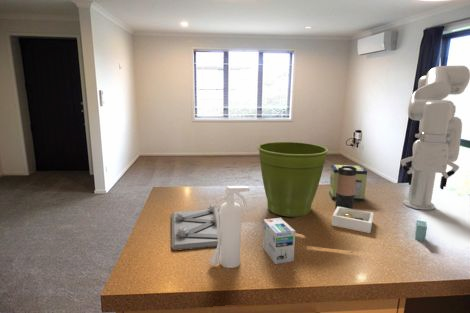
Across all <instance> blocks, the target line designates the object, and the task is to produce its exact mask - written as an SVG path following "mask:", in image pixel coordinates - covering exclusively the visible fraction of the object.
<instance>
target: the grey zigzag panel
mask: <svg viewBox="0 0 470 313" xmlns="http://www.w3.org/2000/svg"><path fill="white" fill-rule="evenodd" d="M214 208H215V203H212V204H210V205H208V207H207V209H200V210H199V209H198V210H196V209H195V210H184V211H181V210H180V211H173V212H172V213H171V249H172V250H173V249H174V251H180V250H179V249H184V250H189V249H190V248H194V249H203V248H202V247H205V248H215V247H217V245H218V238H217V223H216V216H215V212H214ZM217 211H218V215H219V222H220V208H219V205H218V209H217ZM214 246H215V247H214ZM190 250H191V249H190Z"/></svg>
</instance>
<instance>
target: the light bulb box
mask: <svg viewBox="0 0 470 313" xmlns="http://www.w3.org/2000/svg"><path fill="white" fill-rule="evenodd" d="M262 242H263V245H262V248H263V249H264V251H265V252H266V254H267V255H268V257H269V258H270V259H271V261H272V262H273V263H274V264H275V265H279V264H285V263H286V264H287V263H292V262H294V261H295V243H296V230H295V229H294V228H293V227H292V226H291V225H289V224H288V223H287V222H286V221H285V220H284V219H283V218H282V217H277V218H276V217H274V218H264V219H263V241H262Z"/></svg>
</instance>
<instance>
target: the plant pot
mask: <svg viewBox="0 0 470 313" xmlns="http://www.w3.org/2000/svg"><path fill="white" fill-rule="evenodd" d="M257 149H258V151H259V152H258V154H259V155H258V156H259V163H260V169H261V178H262V183H263V188H264V192H265V197H266V201H267V203H266V204H267V209H268V210H269V212H271V213H273V214H274V215H278V216H282V217H290V218H296V217H301V216H307V215H308V214H309V213H311V211H312V210H311V209H312V204H313V202H314V199H315V197H316V193H317V190H318V188H319V184H320V181H321V178H322V173H323V169H324V165H325V163H326V158H327V153H328V152H329V149H328V148H327V147H325V146H322V145H319V144H314V143H307V142H300V141H299V142H297V141H295V142H294V141H275V142H274V141H273V142H265V143H260V144H258V145H257Z"/></svg>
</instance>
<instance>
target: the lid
mask: <svg viewBox="0 0 470 313" xmlns="http://www.w3.org/2000/svg"><path fill="white" fill-rule="evenodd" d="M427 228H428V224H427V221H424V220H418V219H417V220H416V223H415V230H413V231H414V240H415V241H416V240H417V241H421V242H422V244H425V242H426V236H427V230H428V229H427Z"/></svg>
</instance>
